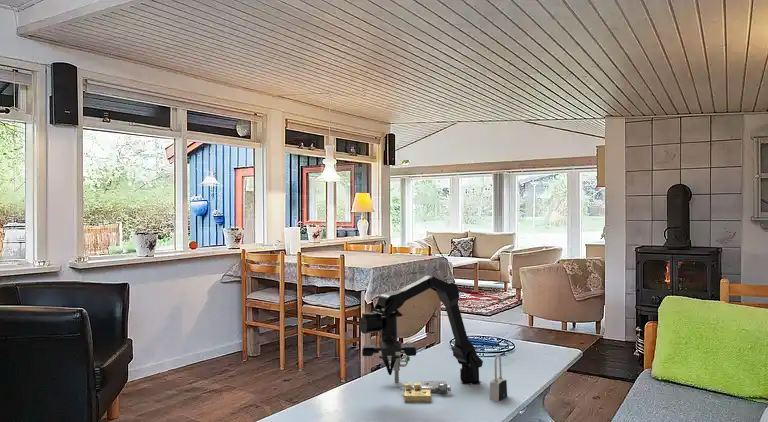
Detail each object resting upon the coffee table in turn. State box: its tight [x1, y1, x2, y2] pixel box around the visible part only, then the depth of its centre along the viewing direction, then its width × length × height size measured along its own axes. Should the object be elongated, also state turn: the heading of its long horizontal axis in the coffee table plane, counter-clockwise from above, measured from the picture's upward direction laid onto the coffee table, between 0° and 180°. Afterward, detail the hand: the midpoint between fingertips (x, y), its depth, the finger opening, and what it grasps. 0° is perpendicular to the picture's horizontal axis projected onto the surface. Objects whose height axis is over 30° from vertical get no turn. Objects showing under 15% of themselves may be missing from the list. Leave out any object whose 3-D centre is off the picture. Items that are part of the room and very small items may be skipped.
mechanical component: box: [388, 355, 411, 384], centre depth 221 cm, size 3×10×10 cm, turn 79°
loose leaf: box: [403, 381, 432, 403], centre depth 203 cm, size 9×10×4 cm
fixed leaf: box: [400, 380, 452, 394], centre depth 210 cm, size 18×10×4 cm, turn 87°
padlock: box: [489, 354, 508, 402], centre depth 200 cm, size 7×4×15 cm, turn 141°
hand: (390, 374), depth 202 cm, fingers closed
